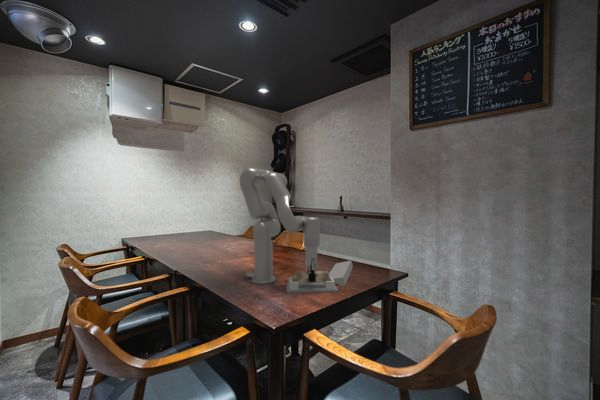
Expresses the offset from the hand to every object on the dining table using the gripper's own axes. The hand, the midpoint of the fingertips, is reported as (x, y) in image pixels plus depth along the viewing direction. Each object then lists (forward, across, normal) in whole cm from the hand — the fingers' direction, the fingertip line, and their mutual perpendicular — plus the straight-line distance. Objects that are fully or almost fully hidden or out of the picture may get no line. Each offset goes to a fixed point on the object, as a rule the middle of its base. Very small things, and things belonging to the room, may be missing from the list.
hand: (311, 279), depth 127 cm
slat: (+1, 0, 0) cm, 1 cm away
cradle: (+4, 0, 0) cm, 4 cm away
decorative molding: (+5, -21, +19) cm, 28 cm away
